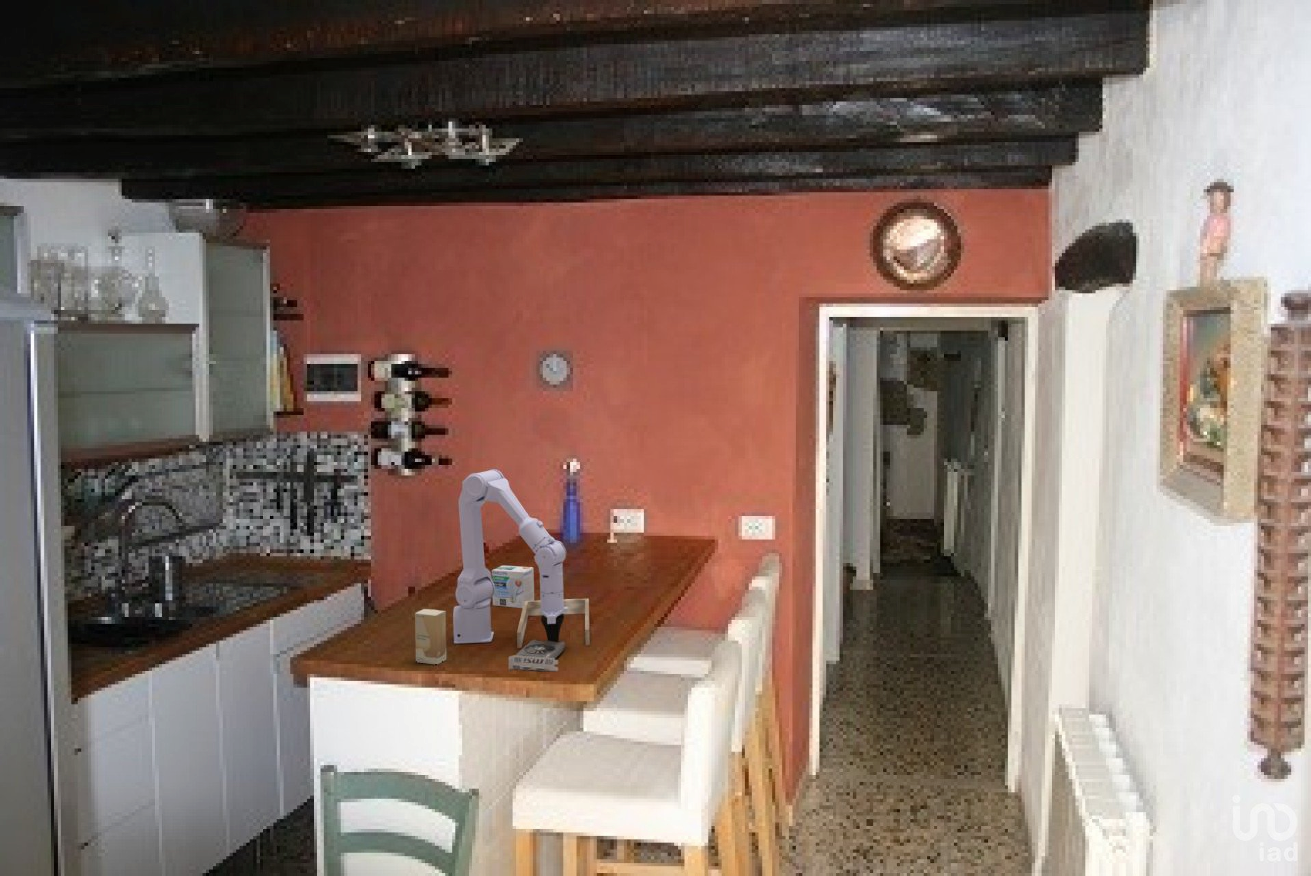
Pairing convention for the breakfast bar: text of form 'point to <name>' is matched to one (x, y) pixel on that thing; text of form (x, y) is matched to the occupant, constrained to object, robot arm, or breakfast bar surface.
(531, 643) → the graphics card
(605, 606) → the breakfast bar surface
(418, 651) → the skincare box
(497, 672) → the breakfast bar surface
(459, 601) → the robot arm
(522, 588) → the light bulb box
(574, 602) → the wooden frame
